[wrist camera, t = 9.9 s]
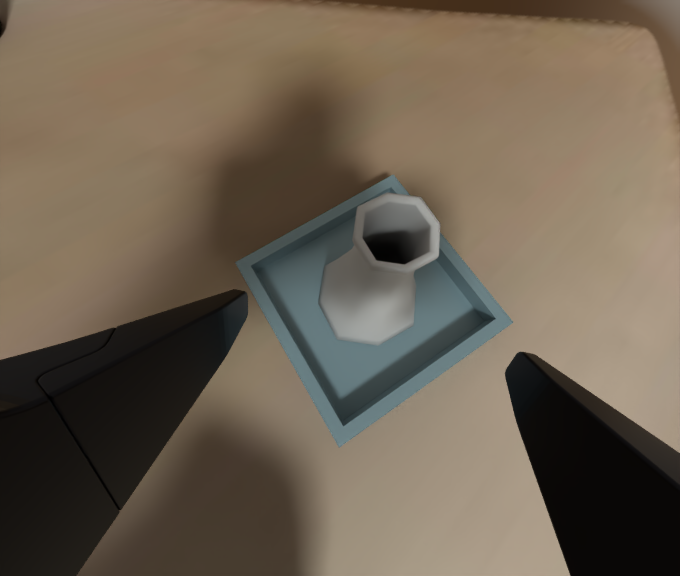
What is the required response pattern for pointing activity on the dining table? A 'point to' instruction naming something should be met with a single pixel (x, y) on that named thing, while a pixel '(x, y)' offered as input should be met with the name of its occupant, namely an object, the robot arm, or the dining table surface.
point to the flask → (380, 270)
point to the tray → (357, 358)
